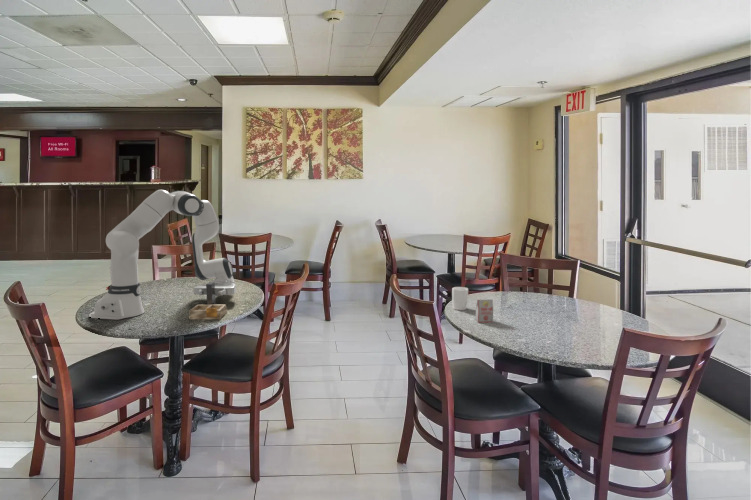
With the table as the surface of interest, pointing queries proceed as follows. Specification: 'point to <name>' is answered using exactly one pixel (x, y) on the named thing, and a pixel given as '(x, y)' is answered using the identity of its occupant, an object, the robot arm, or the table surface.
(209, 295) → the block
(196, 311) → the wooden divided box
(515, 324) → the table surface
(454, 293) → the white cup
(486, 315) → the red and white carton
